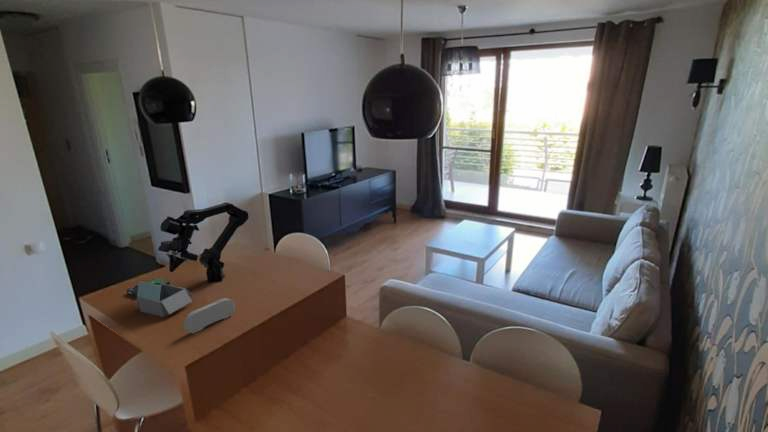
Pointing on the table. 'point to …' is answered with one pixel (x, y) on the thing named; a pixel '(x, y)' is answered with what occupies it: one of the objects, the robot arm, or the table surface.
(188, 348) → the table surface
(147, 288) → the flap
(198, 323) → the grey rounded flat bar
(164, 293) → the grey open storage bin
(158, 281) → the disk drive
